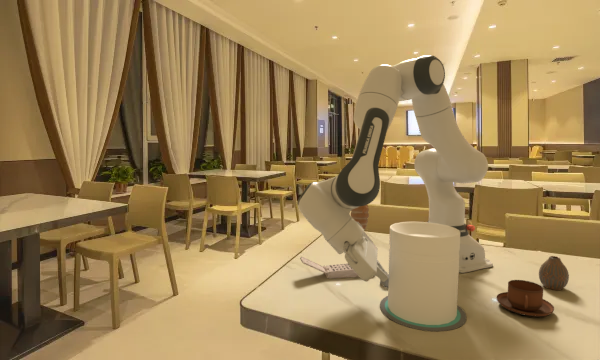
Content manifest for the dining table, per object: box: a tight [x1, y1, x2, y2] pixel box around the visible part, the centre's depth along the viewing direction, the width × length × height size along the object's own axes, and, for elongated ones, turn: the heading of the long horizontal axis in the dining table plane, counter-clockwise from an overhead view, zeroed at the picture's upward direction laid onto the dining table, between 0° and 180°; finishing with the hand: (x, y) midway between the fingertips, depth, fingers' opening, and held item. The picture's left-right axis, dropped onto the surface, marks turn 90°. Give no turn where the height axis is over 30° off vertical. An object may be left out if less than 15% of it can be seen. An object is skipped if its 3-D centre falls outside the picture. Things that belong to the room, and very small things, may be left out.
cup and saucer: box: [496, 279, 555, 318], centre depth 87 cm, size 12×12×6 cm
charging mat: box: [379, 273, 467, 332], centre depth 91 cm, size 20×28×2 cm
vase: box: [538, 255, 570, 291], centre depth 100 cm, size 7×7×9 cm
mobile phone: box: [299, 256, 359, 279], centre depth 111 cm, size 6×6×25 cm
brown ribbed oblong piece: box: [350, 204, 370, 231], centre depth 156 cm, size 9×8×18 cm
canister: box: [387, 221, 460, 325], centre depth 86 cm, size 16×16×20 cm
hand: (385, 278), depth 88 cm, fingers closed, pressing on canister
